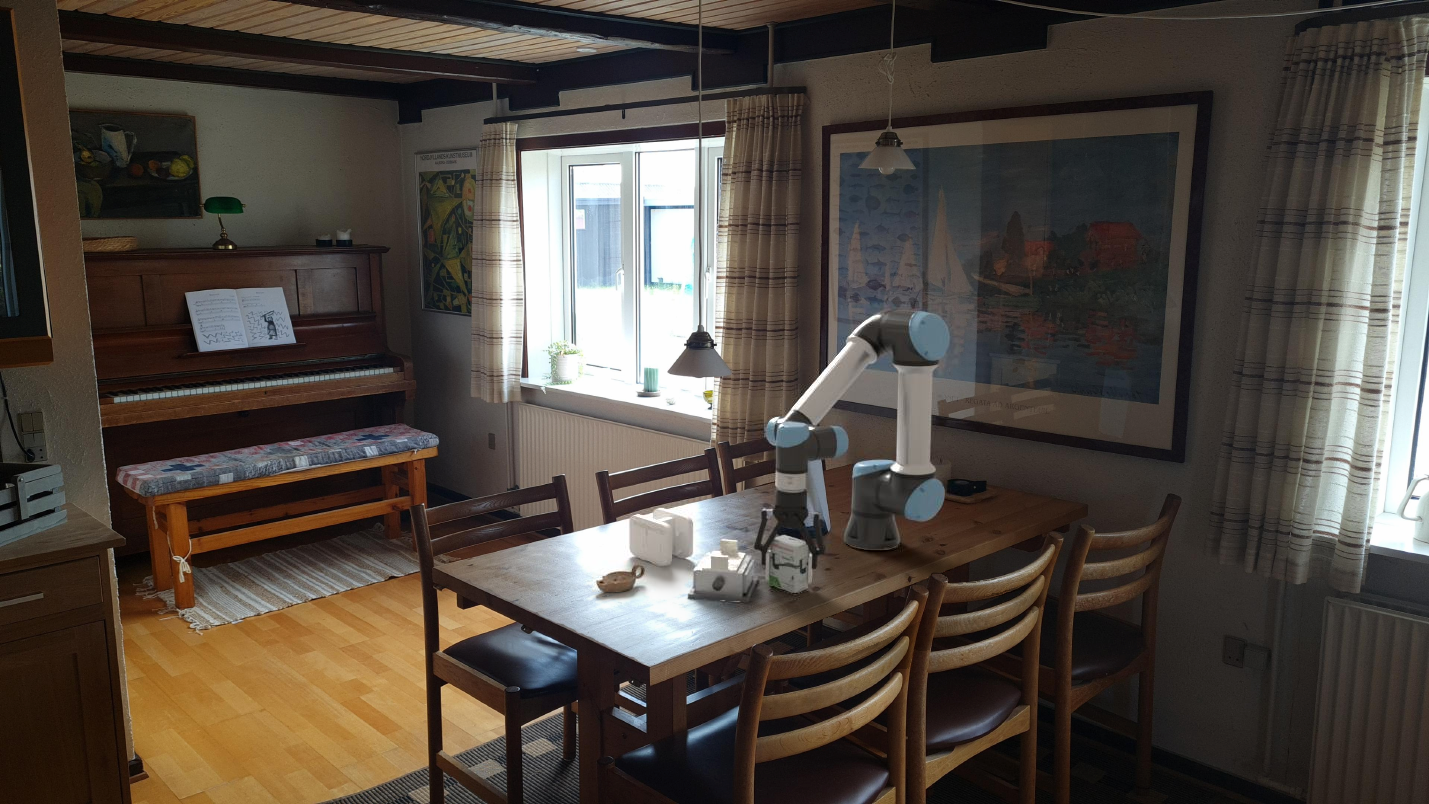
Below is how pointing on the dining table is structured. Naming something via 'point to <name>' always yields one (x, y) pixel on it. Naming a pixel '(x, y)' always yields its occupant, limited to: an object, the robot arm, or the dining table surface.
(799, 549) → the ink box
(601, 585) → the oil lamp
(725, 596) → the white boxy piece
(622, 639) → the dining table surface
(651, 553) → the cable organizer
